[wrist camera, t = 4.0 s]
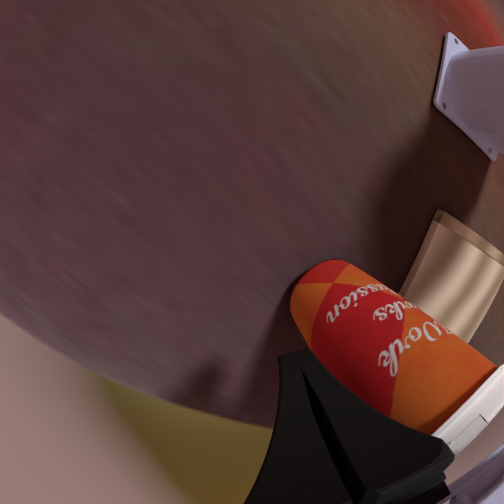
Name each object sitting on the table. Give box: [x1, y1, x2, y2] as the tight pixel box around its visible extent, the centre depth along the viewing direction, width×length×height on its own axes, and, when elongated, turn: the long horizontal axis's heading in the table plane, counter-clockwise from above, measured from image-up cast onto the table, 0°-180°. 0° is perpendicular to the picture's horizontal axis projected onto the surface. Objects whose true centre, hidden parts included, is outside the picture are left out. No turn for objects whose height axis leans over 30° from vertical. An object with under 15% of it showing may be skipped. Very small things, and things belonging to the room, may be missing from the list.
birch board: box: [398, 208, 504, 344], centre depth 23 cm, size 16×18×1 cm
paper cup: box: [290, 259, 504, 456], centre depth 13 cm, size 8×8×14 cm
